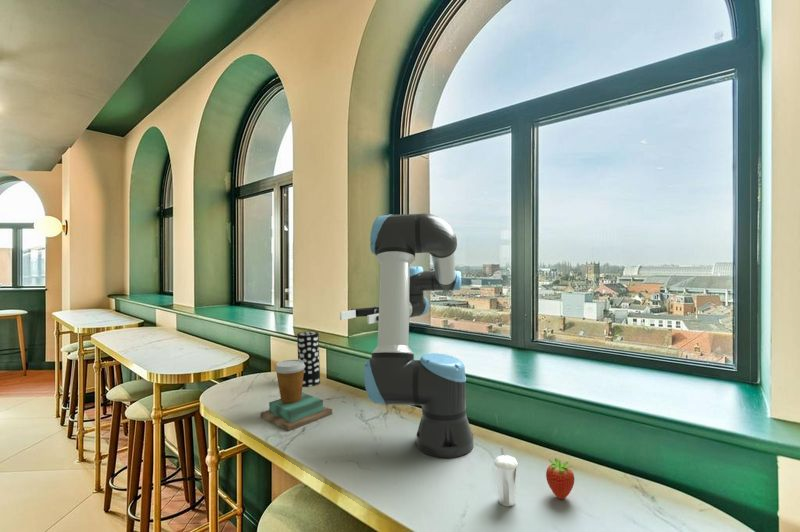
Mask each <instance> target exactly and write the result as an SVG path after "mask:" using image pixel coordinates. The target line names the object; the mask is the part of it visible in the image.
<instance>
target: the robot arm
mask: <svg viewBox="0 0 800 532" xmlns="http://www.w3.org/2000/svg"><path fill="white" fill-rule="evenodd" d="M369 237H370V238H369V241H370V243H369V246H370V251H371V254H373V255H375V259H376V260H377V262H378V263H379V265H380V274H379V299H378V300H379V302H378V306H373V307H372V306H370V307H360V308H351V309H350V310H343V311H340V312H339V320H340V321H346V320H350V319H354V320H355V319H356V318H357V317H359V318H360V317H366V319H367V320H366V323H367V325H371V324H378V328H377V329H378V330H377V346H376V347H375V349H373V351H371V358H369V359H366V360H365V363H364V368H363V377H364V387H365V391H366V394H367V397H368V399H369V401H370V402H371V403H372V404H378V405H385V406H390V405H393V406H394V405H396V406H421V412H422V413H421V418H420V422H419V425H418V428H417V431H416V435H415V436H416V438H415V439H416V440H415V443H416V444H415V445H416V447H417V449H419V451H421V452H422V453H424V454H426V455H428V456H430V457H431V456H432V457H436V458H443V459H444V458H446V459H448V458H457V457H462V456H465V455H466V454H468V453H470V452H472V450H473V449H474V445H475V443H474V434H473V432H472V429H471V426H470V422H469V419H468V416H467V397H466V396H467V395H466V393H467V392H466V382H467V377H466V368H465V367H466V366H465V364H464V362H463V360H461V359H459V358H457V357H456V356H453V355H449V354H445V353H438V352H437V353H436V352H435V353H434V352H432V353H425V354H422V355H421V356H420V358H419V359H415V354H414V352H413V350H412V349H411V348H410V346H409V339H410V337H409V335H410V319H411V318H414V317H421V316H423V315H425V314H427V313H428V311H429V309H430V302H429V300H428V298H427V297H426V296H425V294H424V292H426V291H428V292H429V291H431V292H432V291H438V292H439V291H441V292H442V291H445V292H447V291H451V292H453V291H460V290H461V289H462V272H461V271H460V270H456V258H455V252H456V250H457V247H458V239H457V234H456V233H455V230H454V229H453V228H452V227H451V226H450V224H449V223H447V222H446V221H445V220H444V219H442V218H440V217H439V216H438V215H434V214H431V213H426V212H425V213H408V214H407V213H405V214H391V213H390V214H387V215H380V216H377V217H376V218H375V219H374V220H373V223H372V226H371V231H370V236H369ZM424 253H425V254H426V253H428V254H430V256H431V260H432V266H433V270H424V268H423V267H422V266H411V265H412V263H413V262H415V260H416V254H424Z"/></svg>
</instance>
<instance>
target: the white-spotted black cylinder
mask: <svg viewBox="0 0 800 532" xmlns="http://www.w3.org/2000/svg"><path fill="white" fill-rule="evenodd" d="M296 338H297V339H296V340H297V360H302V361H303V362H304V364H305V368H304V375H303V386H302V388H303V387H305V388H308V387H315V386H318V385H319V384H320V383H321V373H320V372H321V371H320V370H321V368H320V340H319V339H320V338H319V332H318V331H303V332H298V333H297V334H296Z"/></svg>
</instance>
